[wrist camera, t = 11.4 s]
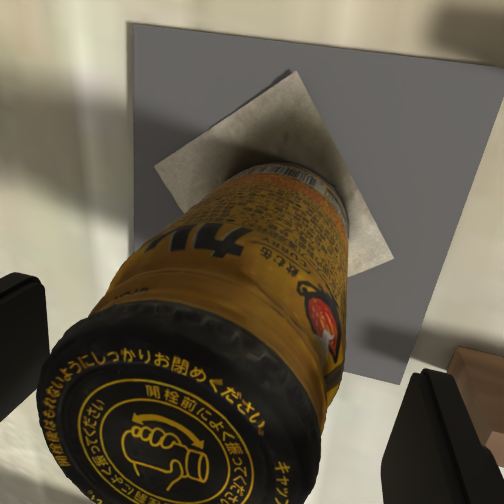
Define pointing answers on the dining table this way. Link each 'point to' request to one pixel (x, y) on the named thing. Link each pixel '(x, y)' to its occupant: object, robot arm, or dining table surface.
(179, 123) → the mat
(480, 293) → the dining table surface
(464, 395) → the frame
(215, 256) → the condiment
